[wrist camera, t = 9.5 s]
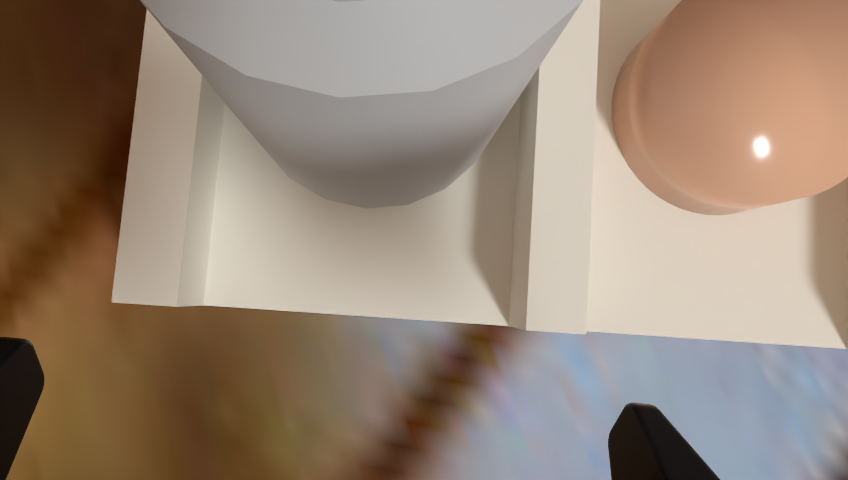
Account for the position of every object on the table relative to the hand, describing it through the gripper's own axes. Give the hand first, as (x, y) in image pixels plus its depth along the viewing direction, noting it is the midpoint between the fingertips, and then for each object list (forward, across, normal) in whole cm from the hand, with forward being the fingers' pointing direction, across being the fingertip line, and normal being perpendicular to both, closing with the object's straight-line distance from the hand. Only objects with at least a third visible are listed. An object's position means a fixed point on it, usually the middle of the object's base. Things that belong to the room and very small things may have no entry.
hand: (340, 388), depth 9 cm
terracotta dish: (+11, -10, -1) cm, 15 cm away
